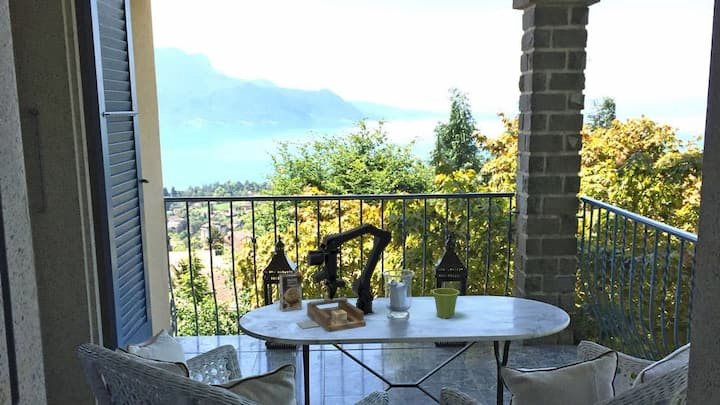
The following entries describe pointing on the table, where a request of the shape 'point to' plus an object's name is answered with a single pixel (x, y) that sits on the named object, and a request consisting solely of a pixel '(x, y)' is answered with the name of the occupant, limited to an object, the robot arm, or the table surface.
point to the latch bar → (328, 300)
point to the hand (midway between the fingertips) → (331, 299)
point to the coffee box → (290, 292)
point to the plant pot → (445, 301)
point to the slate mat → (308, 324)
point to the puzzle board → (324, 316)
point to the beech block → (339, 316)
